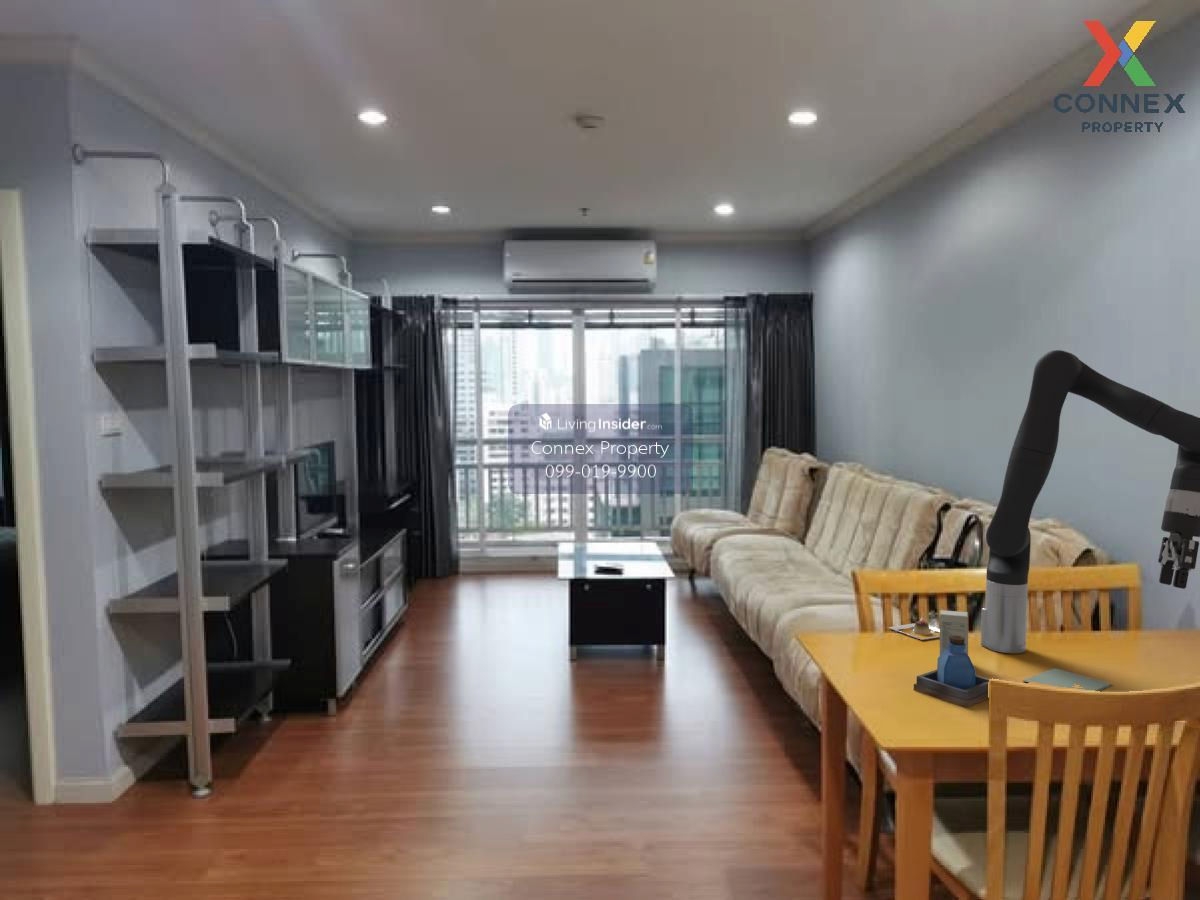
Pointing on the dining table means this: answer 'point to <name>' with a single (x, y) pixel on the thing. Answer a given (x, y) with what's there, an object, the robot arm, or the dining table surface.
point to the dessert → (918, 629)
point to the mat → (1068, 680)
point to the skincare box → (953, 627)
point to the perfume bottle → (956, 665)
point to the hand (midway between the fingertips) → (1171, 585)
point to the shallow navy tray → (952, 689)
